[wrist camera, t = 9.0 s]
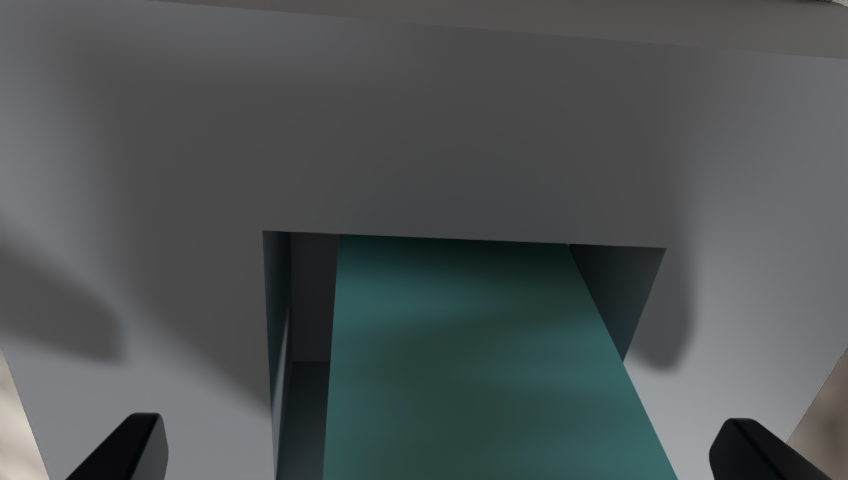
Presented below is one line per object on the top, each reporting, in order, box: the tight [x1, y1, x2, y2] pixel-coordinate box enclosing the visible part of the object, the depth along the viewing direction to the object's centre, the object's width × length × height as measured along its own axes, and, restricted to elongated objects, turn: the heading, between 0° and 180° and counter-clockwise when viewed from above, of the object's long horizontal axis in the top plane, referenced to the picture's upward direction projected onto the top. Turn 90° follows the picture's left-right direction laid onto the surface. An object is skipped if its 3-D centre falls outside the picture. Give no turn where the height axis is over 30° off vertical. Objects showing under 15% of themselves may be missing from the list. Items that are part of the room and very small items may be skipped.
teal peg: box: [323, 234, 678, 480], centre depth 10 cm, size 4×4×8 cm
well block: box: [0, 0, 848, 480], centre depth 12 cm, size 14×12×4 cm
